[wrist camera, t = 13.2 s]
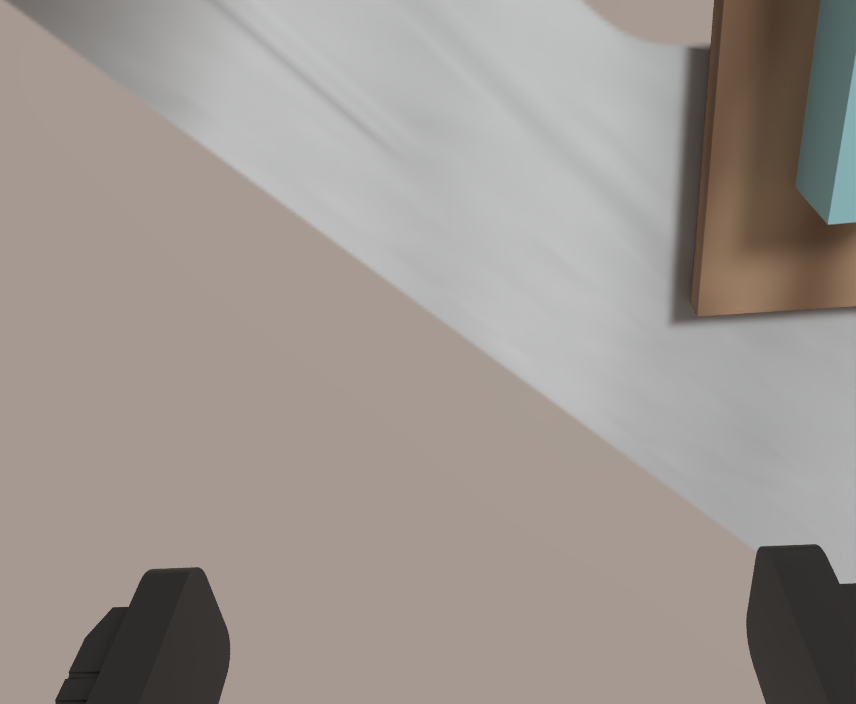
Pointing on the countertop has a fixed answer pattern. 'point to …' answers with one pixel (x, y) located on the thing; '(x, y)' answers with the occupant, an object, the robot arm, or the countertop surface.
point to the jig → (763, 171)
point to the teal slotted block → (831, 117)
